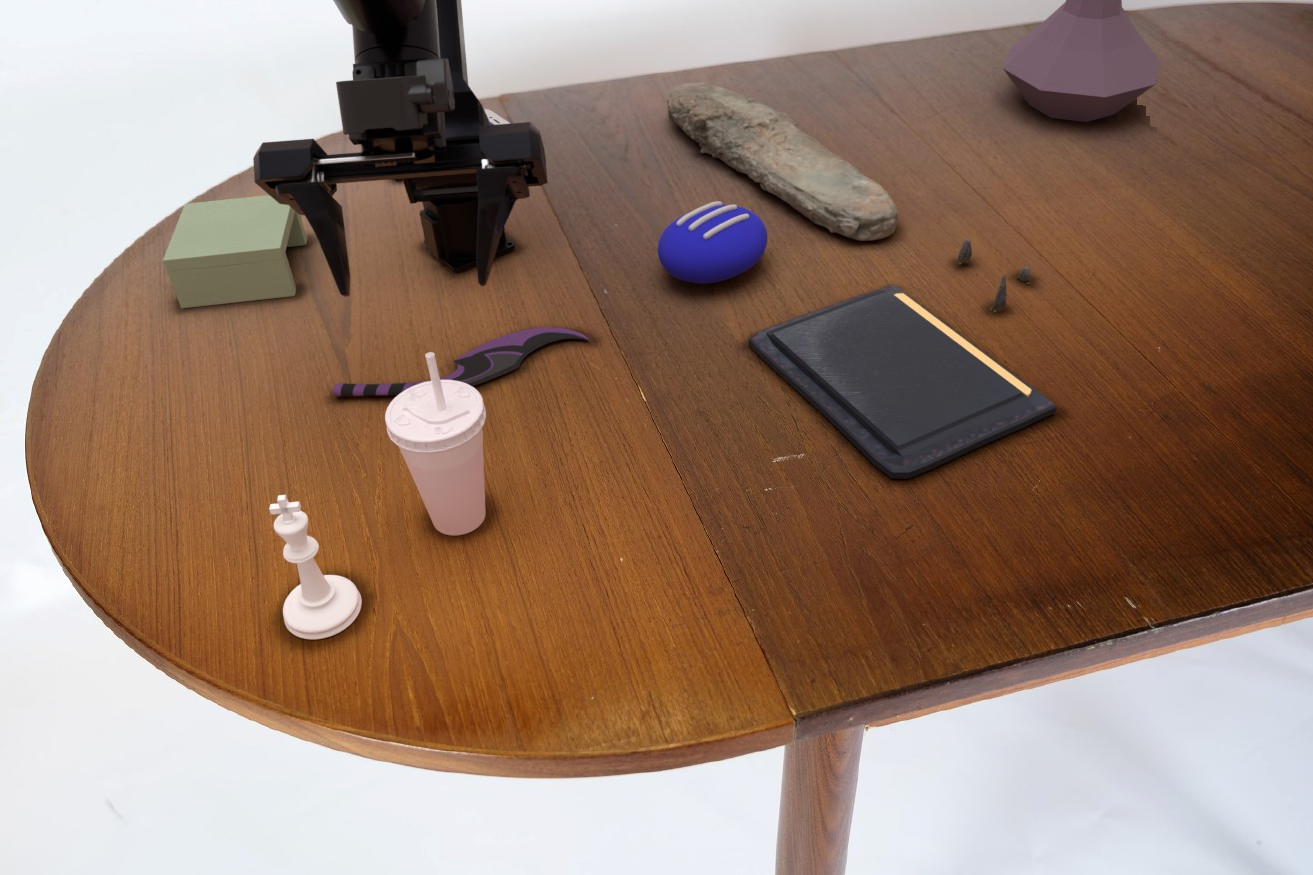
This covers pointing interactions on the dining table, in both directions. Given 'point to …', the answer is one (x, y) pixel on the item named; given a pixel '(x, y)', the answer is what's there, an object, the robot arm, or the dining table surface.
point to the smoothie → (443, 448)
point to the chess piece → (312, 581)
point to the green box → (233, 251)
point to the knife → (477, 361)
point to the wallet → (899, 381)
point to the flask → (1082, 62)
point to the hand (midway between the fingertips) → (413, 290)
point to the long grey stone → (783, 160)
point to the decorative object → (712, 243)
